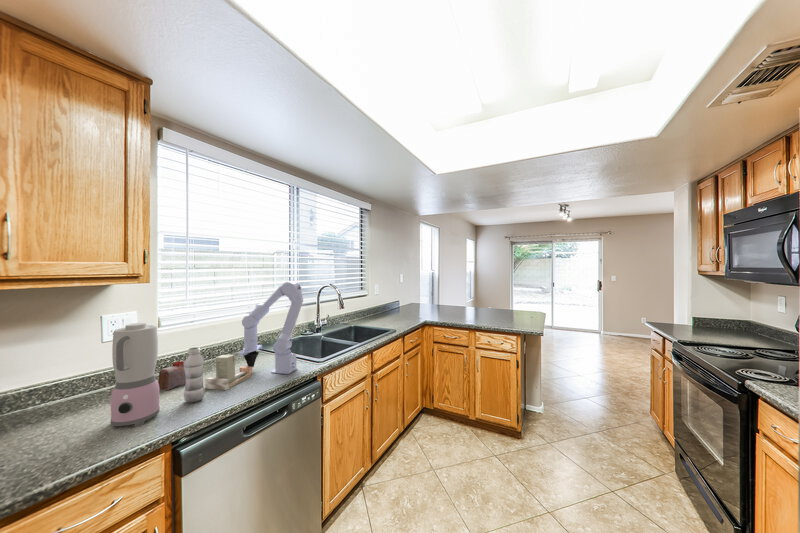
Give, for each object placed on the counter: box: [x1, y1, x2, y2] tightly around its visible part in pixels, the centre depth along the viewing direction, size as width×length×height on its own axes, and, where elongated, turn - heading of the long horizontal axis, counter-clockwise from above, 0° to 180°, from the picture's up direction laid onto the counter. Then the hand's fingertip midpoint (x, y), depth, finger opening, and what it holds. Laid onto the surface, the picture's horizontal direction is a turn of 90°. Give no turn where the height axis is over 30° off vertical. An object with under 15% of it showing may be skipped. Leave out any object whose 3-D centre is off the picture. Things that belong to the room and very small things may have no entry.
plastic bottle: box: [183, 346, 205, 404], centre depth 112 cm, size 6×7×20 cm
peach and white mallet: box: [235, 365, 253, 379], centre depth 137 cm, size 5×11×4 cm, turn 168°
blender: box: [110, 322, 161, 430], centre depth 97 cm, size 16×12×32 cm
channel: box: [204, 373, 252, 391], centre depth 131 cm, size 10×15×4 cm, turn 168°
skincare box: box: [215, 354, 236, 383], centre depth 129 cm, size 6×4×12 cm
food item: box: [157, 360, 186, 391], centre depth 129 cm, size 14×8×10 cm, turn 164°
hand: (250, 367), depth 144 cm, fingers closed
